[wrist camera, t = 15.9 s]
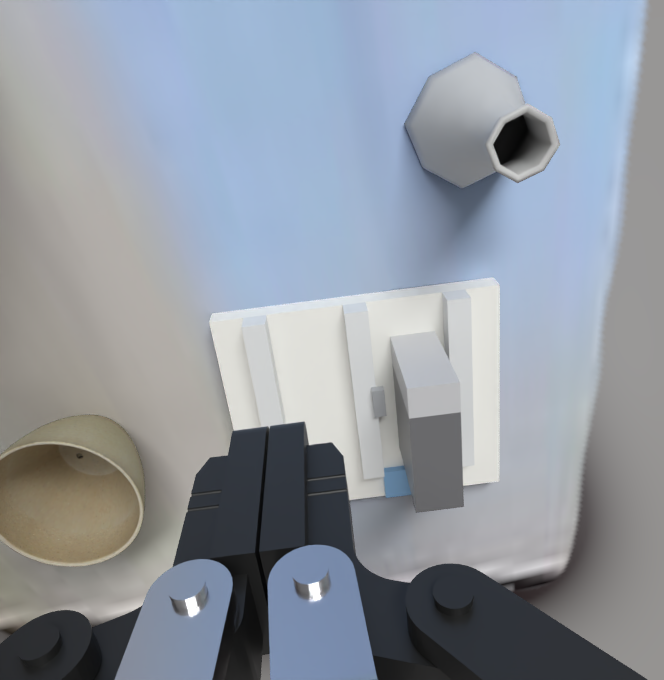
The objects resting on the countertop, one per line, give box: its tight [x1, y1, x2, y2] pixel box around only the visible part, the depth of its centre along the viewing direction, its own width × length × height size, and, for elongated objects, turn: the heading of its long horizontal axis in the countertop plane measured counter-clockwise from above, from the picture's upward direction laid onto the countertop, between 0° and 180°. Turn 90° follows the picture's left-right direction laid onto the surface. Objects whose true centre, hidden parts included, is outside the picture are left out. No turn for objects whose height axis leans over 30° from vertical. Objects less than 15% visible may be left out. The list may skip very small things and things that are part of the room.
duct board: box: [209, 277, 500, 500], centre depth 42 cm, size 19×16×4 cm
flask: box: [404, 52, 560, 189], centre depth 31 cm, size 7×7×10 cm
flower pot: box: [0, 415, 145, 567], centre depth 41 cm, size 10×10×7 cm
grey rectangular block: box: [390, 331, 464, 513], centre depth 38 cm, size 3×9×7 cm, turn 7°
